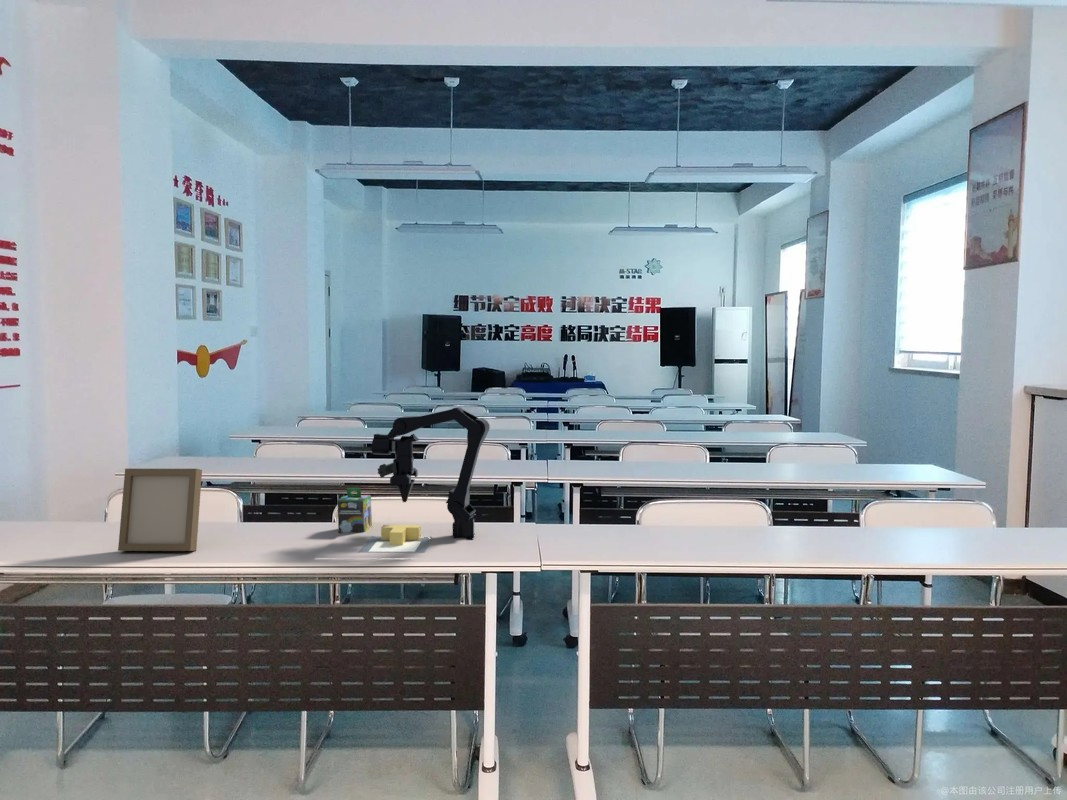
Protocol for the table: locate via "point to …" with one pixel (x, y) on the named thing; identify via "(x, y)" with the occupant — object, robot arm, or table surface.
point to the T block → (400, 533)
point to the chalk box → (354, 512)
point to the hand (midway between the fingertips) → (404, 501)
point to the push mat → (395, 546)
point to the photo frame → (160, 510)
